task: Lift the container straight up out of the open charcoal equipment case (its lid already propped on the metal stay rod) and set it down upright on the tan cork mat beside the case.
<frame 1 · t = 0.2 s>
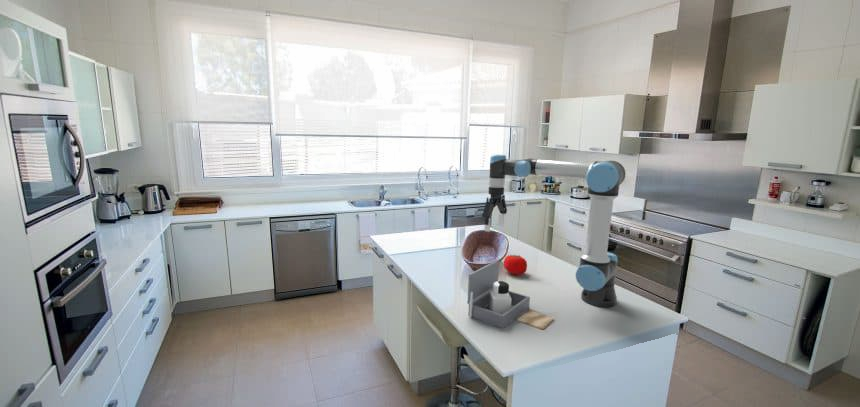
hand: (494, 228, 195), 28 cm above the worktop, fingers open, 13 cm apart
mat: (535, 320, 160), on the worktop
container: (499, 312, 167), resting in case
case: (499, 311, 167), on the worktop
tomato: (514, 273, 212), on the worktop
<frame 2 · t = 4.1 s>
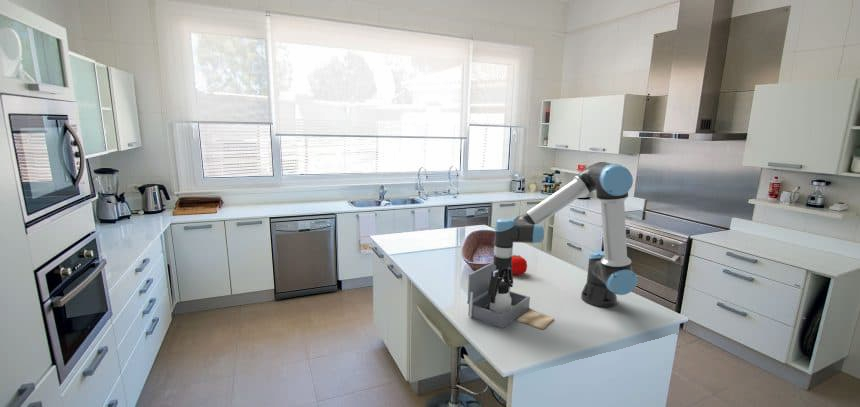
hand: (499, 305, 167), 3 cm above the worktop, fingers closed on container, 10 cm apart
container: (499, 311, 167), resting in case, touching gripper
everything else where it was.
when the fingers open (5 cm above the worktop, at t = 11.9 s): container drops 1 cm, resting on mat.
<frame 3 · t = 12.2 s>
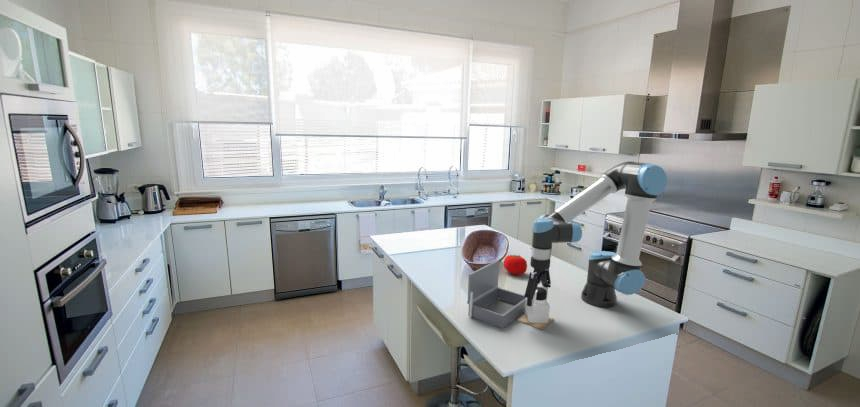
hand: (536, 307, 159), 6 cm above the worktop, fingers open, 13 cm apart
container: (535, 319, 160), resting on mat
everything else where it was.
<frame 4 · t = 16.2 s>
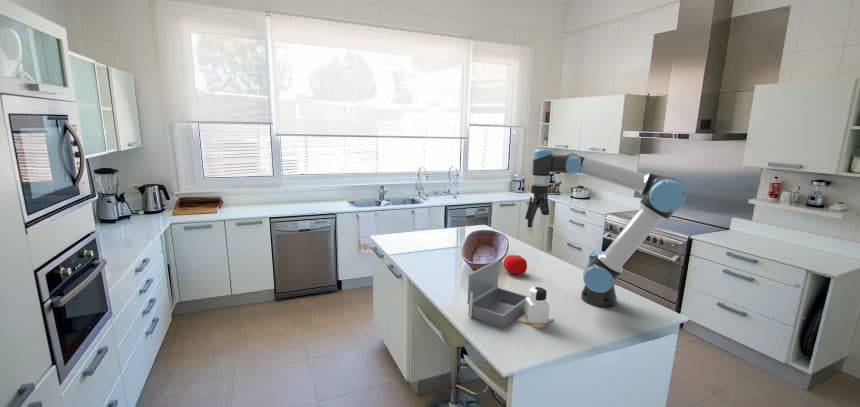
hand: (536, 231, 176), 32 cm above the worktop, fingers open, 13 cm apart
nothing on the worktop moved.
at the end: container inside the target area on the mat (0.1 cm from its centre), point 0.4 cm above the mat's base; container tilted 0°; the gripper is holding nothing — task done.
